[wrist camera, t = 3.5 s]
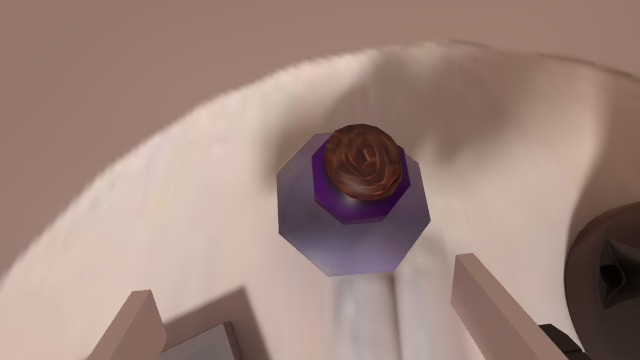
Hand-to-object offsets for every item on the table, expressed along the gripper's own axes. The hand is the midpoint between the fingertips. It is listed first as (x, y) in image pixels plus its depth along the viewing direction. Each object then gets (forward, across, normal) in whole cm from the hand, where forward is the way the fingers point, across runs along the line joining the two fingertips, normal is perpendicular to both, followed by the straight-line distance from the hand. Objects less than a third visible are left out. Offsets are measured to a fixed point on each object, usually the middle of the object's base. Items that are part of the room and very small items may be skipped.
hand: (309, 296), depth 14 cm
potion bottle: (+10, +3, -2) cm, 10 cm away
